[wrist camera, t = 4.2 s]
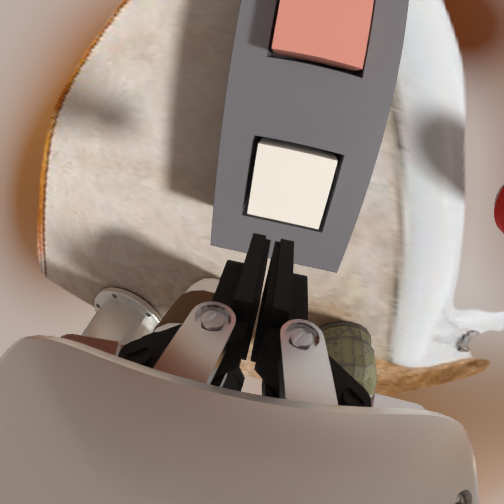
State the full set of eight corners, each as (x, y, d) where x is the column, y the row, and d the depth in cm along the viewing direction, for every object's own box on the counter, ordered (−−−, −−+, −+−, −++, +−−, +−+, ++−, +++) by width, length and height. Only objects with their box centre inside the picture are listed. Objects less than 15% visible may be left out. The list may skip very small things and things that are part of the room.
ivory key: (316, 210, 21) (318, 229, 19) (254, 197, 22) (247, 213, 19) (332, 150, 18) (337, 160, 16) (264, 135, 19) (258, 143, 16)
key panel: (331, 234, 26) (336, 272, 21) (228, 211, 27) (210, 245, 22) (386, -1, 13) (410, -22, 8) (265, -27, 13) (253, -56, 8)
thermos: (390, 344, 33) (392, 596, 5) (316, 370, 39) (287, 593, 10) (367, 306, 30) (361, 624, 1) (284, 339, 35) (233, 604, 7)
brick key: (353, 71, 14) (362, 68, 12) (276, 54, 14) (271, 48, 12) (363, 8, 11) (374, -4, 9) (287, -8, 12) (284, -24, 9)
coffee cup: (222, 337, 37) (198, 413, 28) (159, 290, 34) (116, 363, 25) (280, 303, 32) (266, 395, 22) (207, 242, 29) (161, 328, 19)
